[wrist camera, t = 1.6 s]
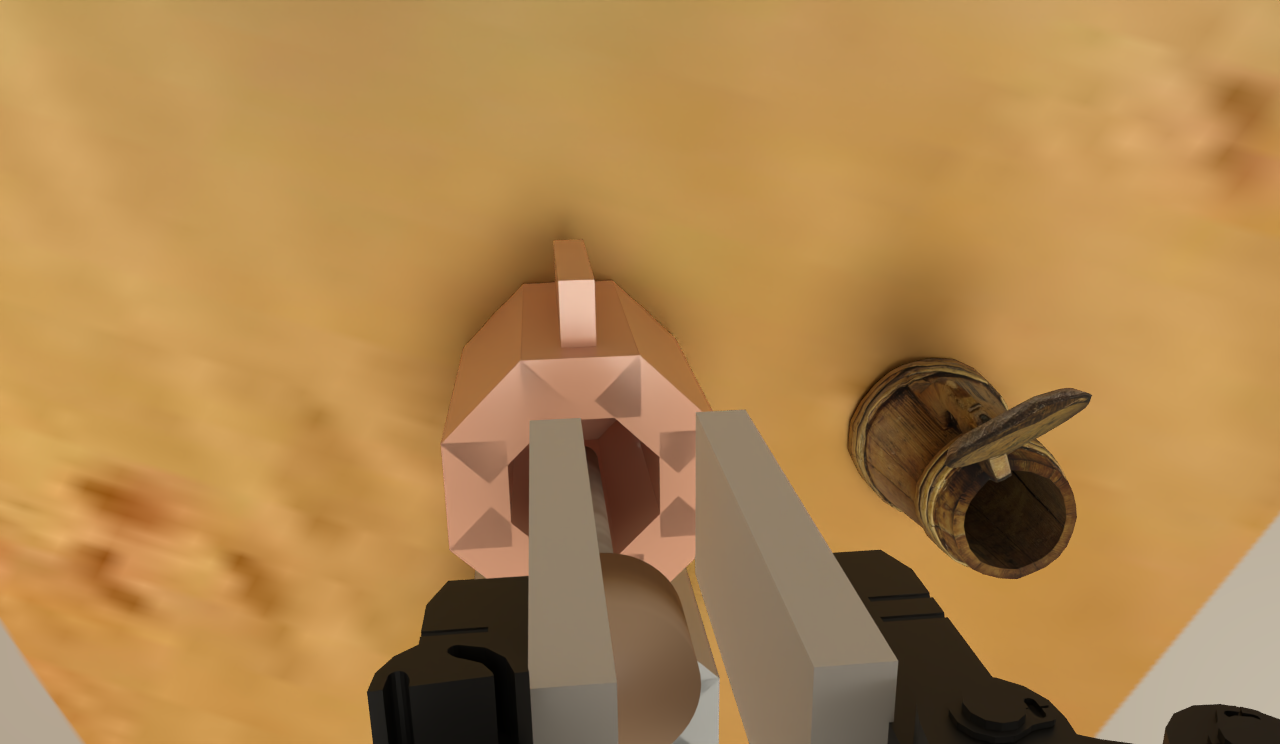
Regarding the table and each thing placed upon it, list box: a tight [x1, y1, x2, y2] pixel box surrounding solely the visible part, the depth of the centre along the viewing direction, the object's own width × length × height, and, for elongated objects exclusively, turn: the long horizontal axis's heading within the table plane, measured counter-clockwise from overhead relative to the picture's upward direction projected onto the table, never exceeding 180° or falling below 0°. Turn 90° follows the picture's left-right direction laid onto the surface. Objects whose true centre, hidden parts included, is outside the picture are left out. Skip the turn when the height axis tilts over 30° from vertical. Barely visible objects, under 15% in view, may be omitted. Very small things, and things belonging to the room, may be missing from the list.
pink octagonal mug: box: [441, 239, 712, 582], centre depth 46 cm, size 14×11×14 cm
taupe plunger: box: [585, 446, 701, 744], centre depth 34 cm, size 5×5×16 cm
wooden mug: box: [848, 358, 1092, 579], centre depth 47 cm, size 9×14×18 cm, turn 23°
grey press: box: [475, 567, 720, 744], centre depth 50 cm, size 14×11×14 cm
